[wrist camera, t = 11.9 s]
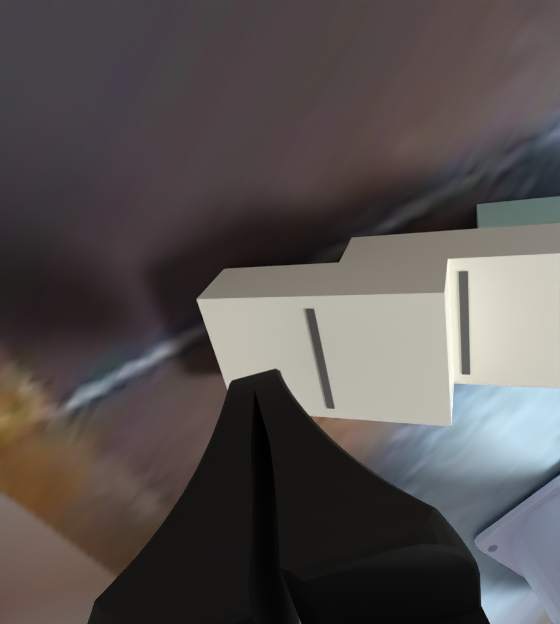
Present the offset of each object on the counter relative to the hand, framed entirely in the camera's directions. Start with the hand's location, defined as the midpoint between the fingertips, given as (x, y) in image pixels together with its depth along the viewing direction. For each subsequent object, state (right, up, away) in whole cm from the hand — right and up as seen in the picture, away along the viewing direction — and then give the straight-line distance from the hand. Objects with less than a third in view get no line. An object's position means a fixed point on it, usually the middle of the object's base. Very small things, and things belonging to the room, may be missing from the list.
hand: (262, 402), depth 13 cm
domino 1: (-1, +2, +3) cm, 4 cm away
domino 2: (+3, +3, +3) cm, 5 cm away
